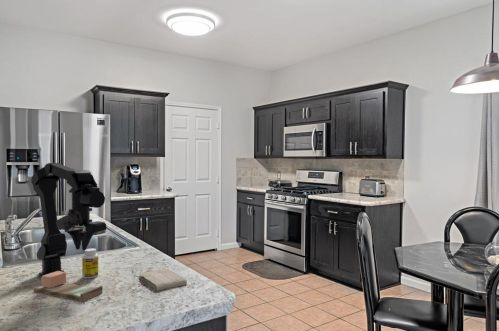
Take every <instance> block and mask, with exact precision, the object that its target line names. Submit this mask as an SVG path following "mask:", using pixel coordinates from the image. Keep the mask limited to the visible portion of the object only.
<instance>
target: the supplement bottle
mask: <svg viewBox="0 0 499 331" xmlns="http://www.w3.org/2000/svg"><path fill="white" fill-rule="evenodd" d="M81 258H82V266H81V267H82V268H81V269H82V270H81V272H82V274H81V276H82V278H83V279H94V278H97V277H98V276H99V254H98V253H97V249H96V248H86V250H84V254H83V255H82V257H81Z"/></svg>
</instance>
